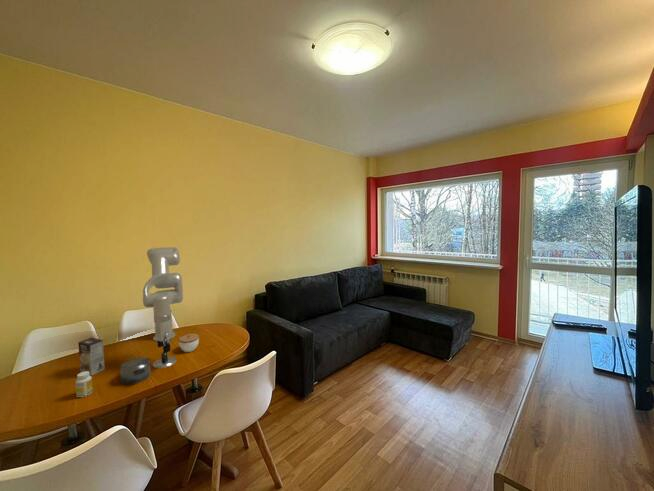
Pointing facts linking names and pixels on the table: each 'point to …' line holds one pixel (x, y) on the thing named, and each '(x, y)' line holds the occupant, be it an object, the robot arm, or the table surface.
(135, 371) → the pot
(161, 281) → the robot arm
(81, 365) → the coffee box
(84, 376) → the supplement bottle
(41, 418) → the table surface
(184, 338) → the lidded jar
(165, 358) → the lid
